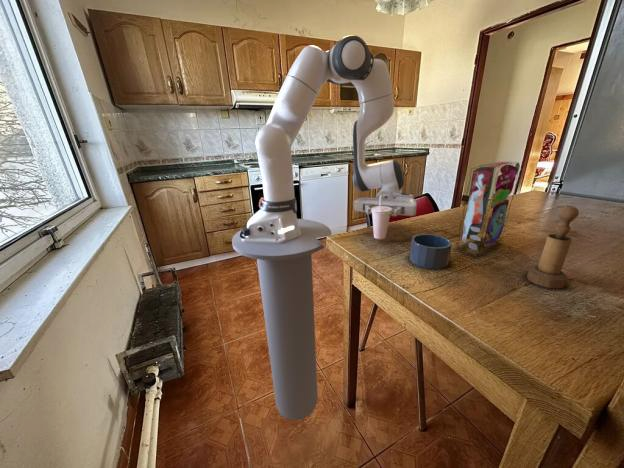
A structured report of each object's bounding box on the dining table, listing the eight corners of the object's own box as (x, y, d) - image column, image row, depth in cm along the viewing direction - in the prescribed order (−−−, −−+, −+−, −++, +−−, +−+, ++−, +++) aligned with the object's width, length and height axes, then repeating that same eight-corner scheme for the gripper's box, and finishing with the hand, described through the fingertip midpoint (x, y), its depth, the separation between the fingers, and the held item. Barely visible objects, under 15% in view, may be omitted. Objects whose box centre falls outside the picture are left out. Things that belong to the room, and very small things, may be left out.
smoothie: (366, 235, 86) (367, 194, 80) (382, 232, 88) (385, 191, 82) (376, 242, 80) (379, 198, 75) (393, 238, 82) (397, 196, 77)
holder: (417, 269, 67) (419, 248, 64) (404, 253, 76) (406, 234, 74) (455, 268, 67) (459, 247, 64) (438, 252, 76) (441, 233, 73)
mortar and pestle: (540, 272, 63) (564, 201, 57) (571, 286, 57) (602, 208, 51) (519, 276, 62) (541, 204, 55) (549, 291, 56) (577, 212, 49)
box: (492, 231, 89) (509, 158, 80) (513, 236, 84) (533, 159, 75) (455, 251, 76) (470, 166, 67) (477, 258, 71) (497, 168, 62)
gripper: (358, 191, 94) (348, 200, 83) (418, 195, 87) (416, 205, 75) (357, 208, 97) (348, 219, 85) (415, 212, 89) (414, 225, 77)
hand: (381, 212), depth 80 cm, fingers closed on smoothie, 6 cm apart
